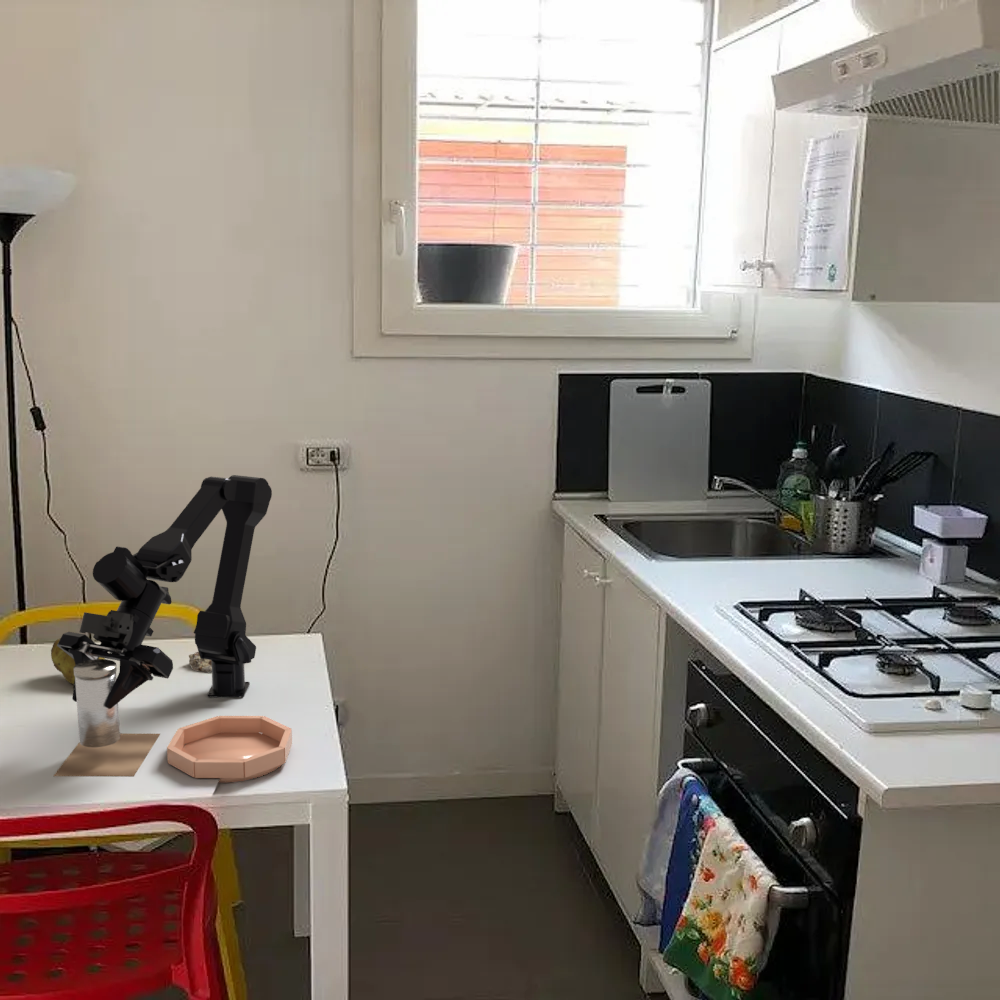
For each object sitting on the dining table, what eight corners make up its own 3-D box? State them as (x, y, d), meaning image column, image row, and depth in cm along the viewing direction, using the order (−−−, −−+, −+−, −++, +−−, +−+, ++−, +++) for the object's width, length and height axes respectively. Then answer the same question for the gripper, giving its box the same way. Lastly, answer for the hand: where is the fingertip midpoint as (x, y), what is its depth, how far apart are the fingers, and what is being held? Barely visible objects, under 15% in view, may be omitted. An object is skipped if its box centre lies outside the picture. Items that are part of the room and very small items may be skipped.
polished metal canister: (85, 731, 192) (80, 659, 190) (125, 731, 192) (121, 659, 190) (73, 747, 186) (68, 673, 184) (114, 747, 186) (109, 673, 184)
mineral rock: (186, 664, 227) (188, 640, 234) (187, 683, 229) (189, 658, 236) (245, 663, 229) (246, 638, 236) (245, 682, 231) (246, 657, 238)
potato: (67, 696, 216) (64, 653, 215) (48, 674, 227) (45, 633, 225) (114, 687, 221) (112, 645, 219) (93, 666, 231) (90, 626, 230)
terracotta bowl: (186, 735, 200) (185, 715, 199) (297, 736, 201) (296, 716, 200) (159, 784, 183) (158, 762, 182) (280, 784, 183) (279, 762, 182)
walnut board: (86, 737, 199) (86, 733, 199) (160, 738, 199) (160, 733, 199) (53, 780, 183) (53, 775, 183) (134, 781, 183) (133, 776, 183)
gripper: (61, 582, 191) (13, 671, 184) (157, 597, 184) (111, 691, 177) (99, 616, 200) (55, 702, 193) (192, 632, 193) (150, 722, 185)
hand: (91, 704), depth 187 cm, fingers closed on polished metal canister, 6 cm apart
